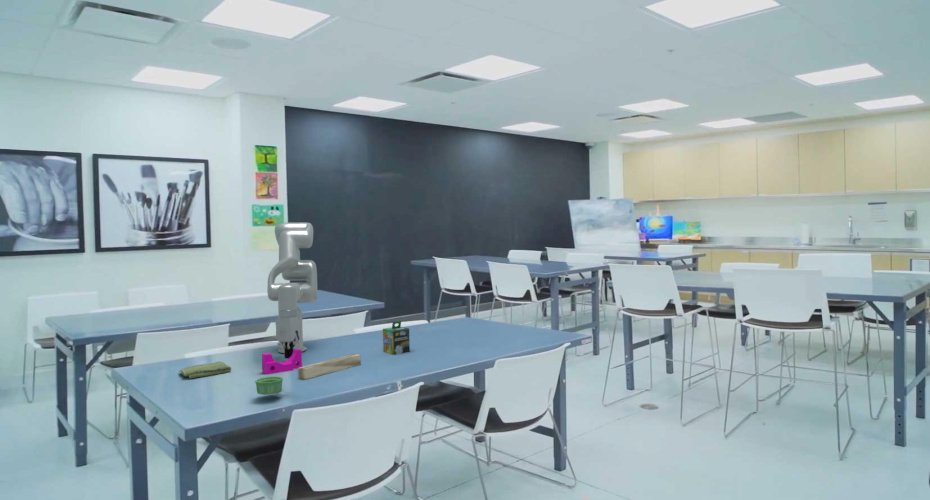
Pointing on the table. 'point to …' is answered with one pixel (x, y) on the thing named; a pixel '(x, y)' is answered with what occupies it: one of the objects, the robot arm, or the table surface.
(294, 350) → the toy block
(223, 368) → the washcloth
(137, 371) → the table surface
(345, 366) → the board
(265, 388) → the ramekin
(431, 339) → the table surface
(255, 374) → the table surface
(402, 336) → the chalk box
